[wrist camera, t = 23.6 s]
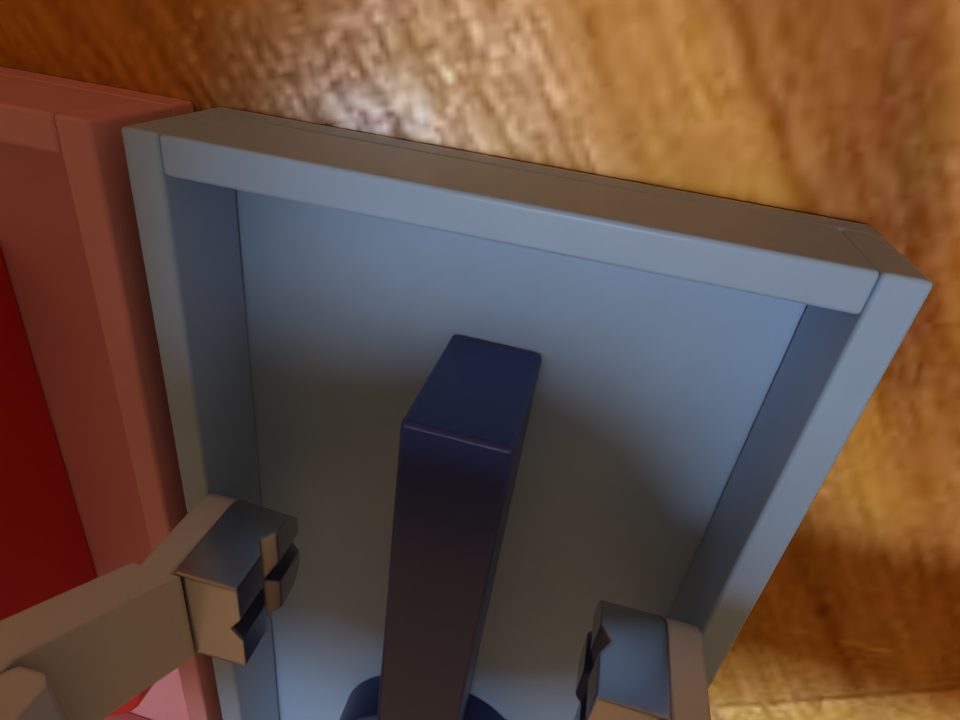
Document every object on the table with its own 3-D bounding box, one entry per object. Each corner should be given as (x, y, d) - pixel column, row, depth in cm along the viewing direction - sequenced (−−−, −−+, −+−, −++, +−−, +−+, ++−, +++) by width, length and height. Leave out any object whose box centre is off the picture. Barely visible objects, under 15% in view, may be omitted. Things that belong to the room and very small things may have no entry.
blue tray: (277, 749, 18) (240, 825, 16) (219, 105, 9) (118, 125, 7) (575, 847, 17) (568, 940, 15) (870, 223, 8) (938, 283, 6)
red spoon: (-143, 202, 11) (-330, 246, 9) (78, 254, 10) (-66, 313, 8) (39, 652, 17) (-41, 736, 15) (177, 698, 17) (113, 792, 15)
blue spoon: (359, 310, 9) (281, 392, 7) (644, 375, 9) (646, 484, 7) (345, 751, 16) (303, 857, 14) (505, 803, 16) (485, 923, 13)
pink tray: (5, 658, 19) (-57, 720, 18) (-297, 11, 10) (-490, 9, 8) (265, 744, 18) (226, 820, 16) (194, 101, 9) (87, 119, 7)
